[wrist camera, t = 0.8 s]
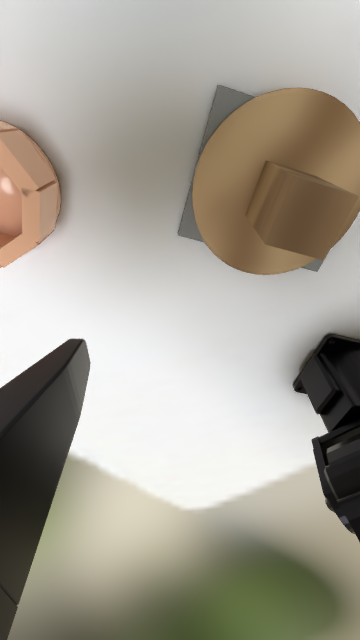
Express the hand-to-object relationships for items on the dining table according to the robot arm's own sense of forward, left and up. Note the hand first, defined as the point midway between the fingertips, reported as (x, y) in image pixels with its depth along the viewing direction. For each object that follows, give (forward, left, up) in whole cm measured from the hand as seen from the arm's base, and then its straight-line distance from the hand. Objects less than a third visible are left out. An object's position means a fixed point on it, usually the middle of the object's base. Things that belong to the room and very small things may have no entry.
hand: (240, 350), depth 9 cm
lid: (-3, -3, -13) cm, 13 cm away
